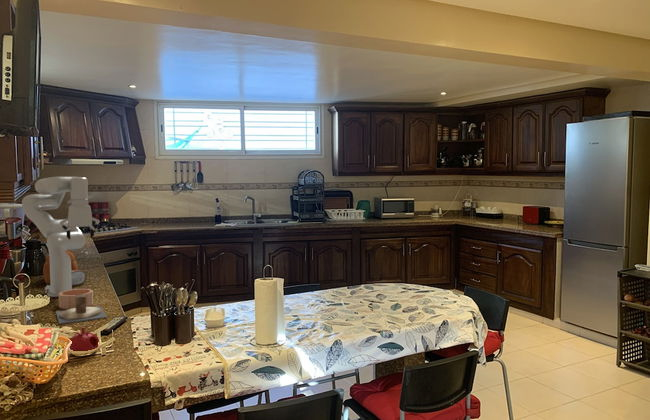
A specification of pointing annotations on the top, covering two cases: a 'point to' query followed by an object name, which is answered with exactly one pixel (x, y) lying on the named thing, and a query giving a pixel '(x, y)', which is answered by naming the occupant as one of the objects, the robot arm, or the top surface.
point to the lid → (80, 309)
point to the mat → (65, 321)
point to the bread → (47, 266)
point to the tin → (78, 277)
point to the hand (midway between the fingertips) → (80, 238)
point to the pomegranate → (84, 341)
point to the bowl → (69, 298)
